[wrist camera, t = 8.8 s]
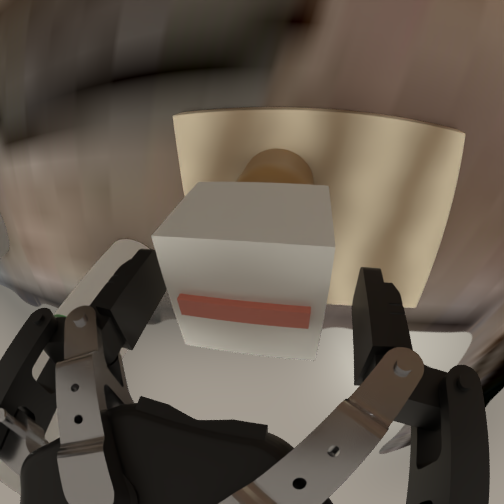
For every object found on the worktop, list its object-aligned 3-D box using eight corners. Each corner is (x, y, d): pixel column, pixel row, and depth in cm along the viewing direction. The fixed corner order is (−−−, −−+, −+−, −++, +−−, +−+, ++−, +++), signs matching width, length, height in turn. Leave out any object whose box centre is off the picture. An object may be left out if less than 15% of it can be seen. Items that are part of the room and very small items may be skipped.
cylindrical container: (126, 292, 32) (24, 476, 12) (99, 242, 28) (-38, 436, 8) (176, 292, 30) (73, 516, 10) (149, 235, 26) (-5, 483, 6)
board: (456, 128, 15) (465, 133, 14) (412, 296, 24) (415, 307, 23) (181, 112, 19) (172, 115, 17) (207, 282, 28) (203, 292, 27)
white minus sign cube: (328, 185, 11) (335, 253, 8) (318, 287, 15) (314, 366, 11) (198, 181, 12) (147, 241, 9) (213, 279, 16) (183, 349, 12)
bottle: (315, 149, 17) (317, 222, 10) (312, 215, 20) (308, 317, 12) (241, 148, 18) (185, 215, 11) (245, 212, 21) (204, 306, 13)
